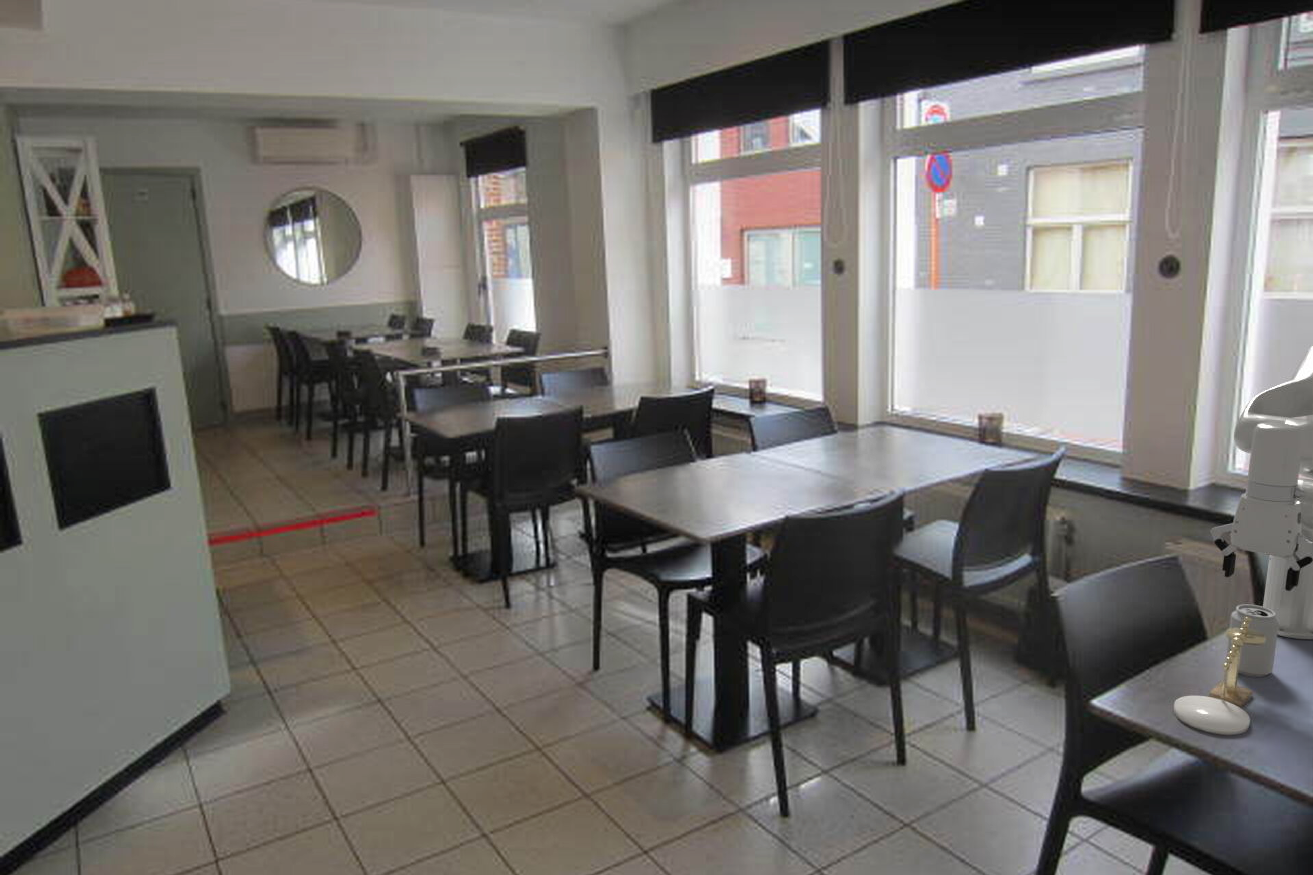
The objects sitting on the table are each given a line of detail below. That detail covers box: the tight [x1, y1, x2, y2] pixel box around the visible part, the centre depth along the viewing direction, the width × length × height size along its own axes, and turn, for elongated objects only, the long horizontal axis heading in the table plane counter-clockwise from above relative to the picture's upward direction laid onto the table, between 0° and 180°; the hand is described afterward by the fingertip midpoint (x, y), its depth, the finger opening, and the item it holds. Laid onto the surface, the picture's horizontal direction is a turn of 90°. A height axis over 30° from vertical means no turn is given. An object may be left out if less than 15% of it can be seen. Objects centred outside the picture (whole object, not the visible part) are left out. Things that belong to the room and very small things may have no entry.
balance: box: [1208, 617, 1266, 708], centre depth 162 cm, size 14×6×14 cm, turn 133°
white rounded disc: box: [1173, 695, 1251, 736], centre depth 156 cm, size 11×11×1 cm
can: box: [1225, 603, 1279, 678], centre depth 172 cm, size 8×8×12 cm
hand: (1258, 581), depth 169 cm, fingers open, 9 cm apart
